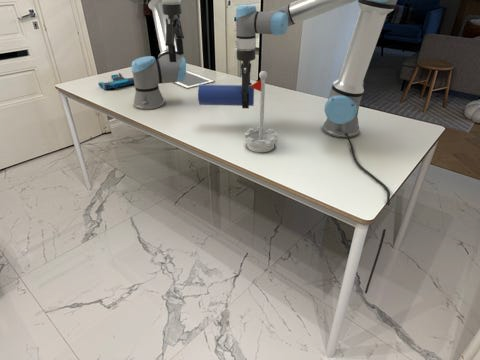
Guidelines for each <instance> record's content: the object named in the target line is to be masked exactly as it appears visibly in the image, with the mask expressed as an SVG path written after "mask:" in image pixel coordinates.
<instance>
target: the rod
mask: <svg viewBox="0 0 480 360" xmlns="http://www.w3.org/2000/svg"><path fill="white" fill-rule="evenodd" d="M252 85H253V84H252ZM252 85H248V91H249V107H254V105H255V89H254V88H251V87H250V86H252ZM197 89H198V90H197V97H198V98H197V100H198V104H199V105H200V106H231V107H233V106H235V107H237V106H239V107H242V93H240V92H242V84H203V85H199V86H198V88H197Z"/></svg>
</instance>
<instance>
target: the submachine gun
mask: <svg viewBox="0 0 480 360" xmlns="http://www.w3.org/2000/svg"><path fill="white" fill-rule="evenodd" d="M110 77H111V79H112V80H111V81H108V82H102V81H100V82H98V83H97V84H98V86H99V87H100V88H102V89H103V90H110V89H116V90H117V89H118V88H120V87H123V86H128V85H134V84H133V83H134V78H133V77H129V78H126V77H123V78H124V79H123V78H121V77H120V76H119V74H112V75H110Z"/></svg>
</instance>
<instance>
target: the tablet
mask: <svg viewBox="0 0 480 360" xmlns="http://www.w3.org/2000/svg"><path fill="white" fill-rule="evenodd" d="M214 82H215V80H213V79H210V78H207V77H204V76H202V75H199V74H197V73H194V72H192V71H188V70H186V78H185V80H184V81H180V82H172V83H174V84H176V85H178V86H181V87H183V88H185V89H191V88H195V87H199V85H208V84H211V83H214Z"/></svg>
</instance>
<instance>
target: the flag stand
mask: <svg viewBox="0 0 480 360" xmlns="http://www.w3.org/2000/svg"><path fill="white" fill-rule="evenodd" d="M258 77H259V80H257V81H256V82H254V83H253V84H252V86H250V87H251V88H254V90H256V91H257V92H260V94H259V96H260V97H259V99H260V100H259V125H258V126H257V129H254V128H252V127H250V128H249V129H247V132H244V142H245V143H246V147H247V148H248V150H250V151H251V152H255V153H266V152H267V153H268V152H271V151H273V150H274V149H275V145H276V143H277V142H278V132H275V129H273V128H268V129H265V127H264V118H265V117H264V116H265V94H266V93H265V92H266V79H267V78H268V72H267V71H265V70H261V71H260V72H259V74H258Z"/></svg>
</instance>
